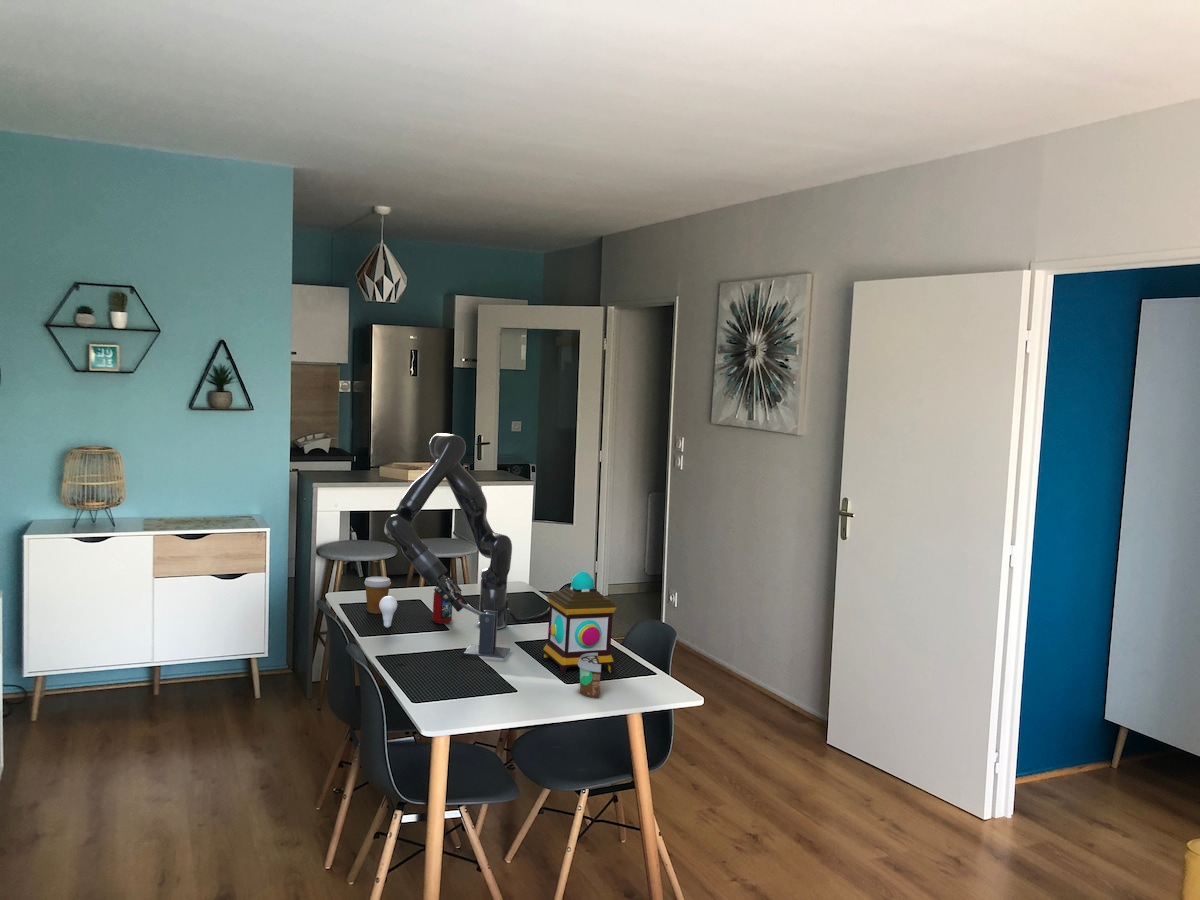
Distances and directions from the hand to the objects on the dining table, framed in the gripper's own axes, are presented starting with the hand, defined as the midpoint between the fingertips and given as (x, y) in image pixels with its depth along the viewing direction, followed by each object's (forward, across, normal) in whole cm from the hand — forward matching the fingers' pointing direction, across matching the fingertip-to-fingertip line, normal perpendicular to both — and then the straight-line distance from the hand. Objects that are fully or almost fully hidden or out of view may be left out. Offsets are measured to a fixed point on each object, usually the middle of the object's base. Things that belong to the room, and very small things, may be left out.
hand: (463, 607), depth 298 cm
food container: (+41, -26, -21) cm, 53 cm away
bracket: (+16, 0, +4) cm, 17 cm away
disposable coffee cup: (-19, +40, +41) cm, 60 cm away
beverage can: (0, +34, +22) cm, 40 cm away
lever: (+4, 0, -1) cm, 4 cm away
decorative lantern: (+37, -3, -17) cm, 41 cm away
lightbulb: (-11, +20, +33) cm, 40 cm away
